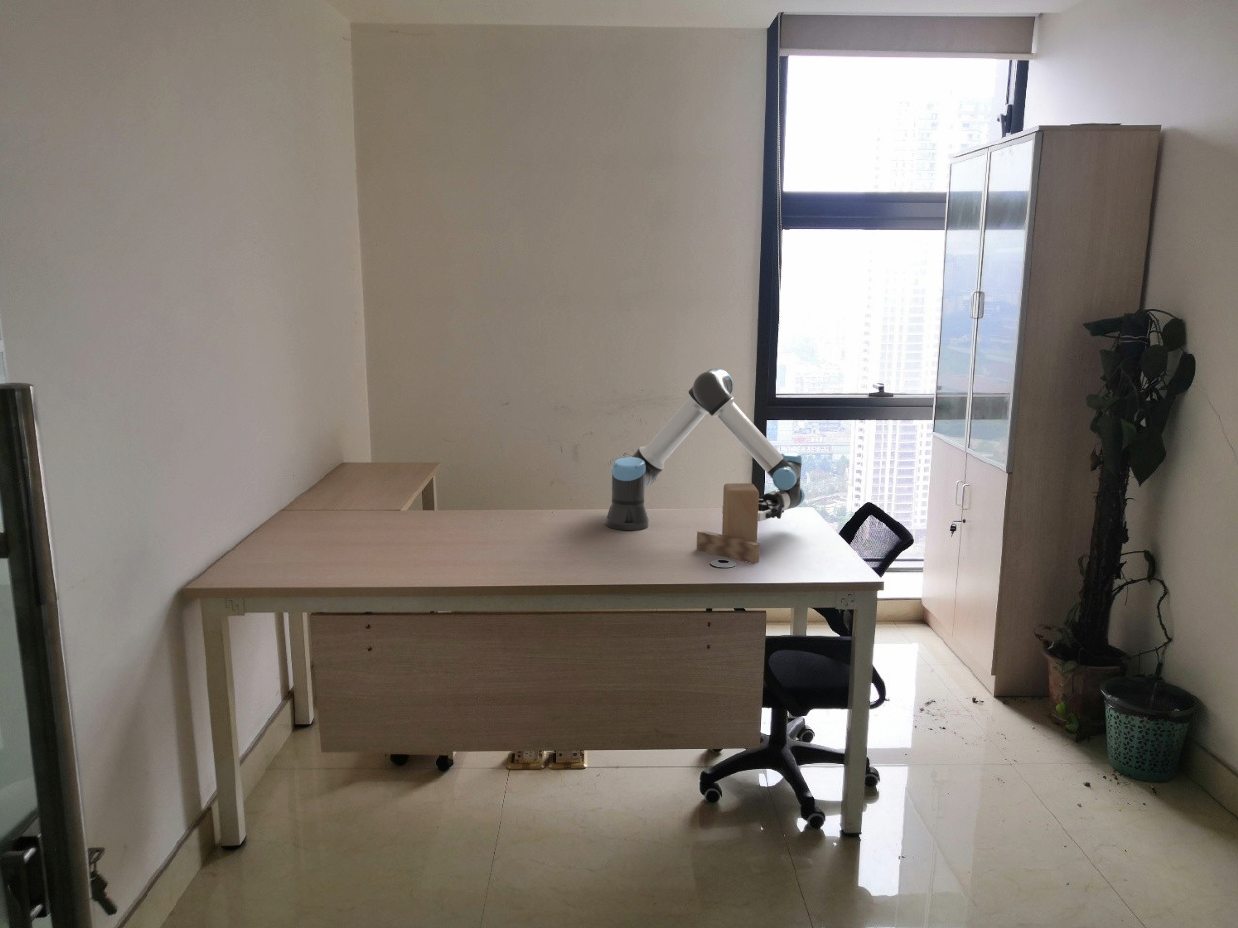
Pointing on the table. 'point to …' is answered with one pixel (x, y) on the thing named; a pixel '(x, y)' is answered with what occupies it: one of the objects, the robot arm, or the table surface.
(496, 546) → the table surface
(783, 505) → the robot arm
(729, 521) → the block
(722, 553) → the board
